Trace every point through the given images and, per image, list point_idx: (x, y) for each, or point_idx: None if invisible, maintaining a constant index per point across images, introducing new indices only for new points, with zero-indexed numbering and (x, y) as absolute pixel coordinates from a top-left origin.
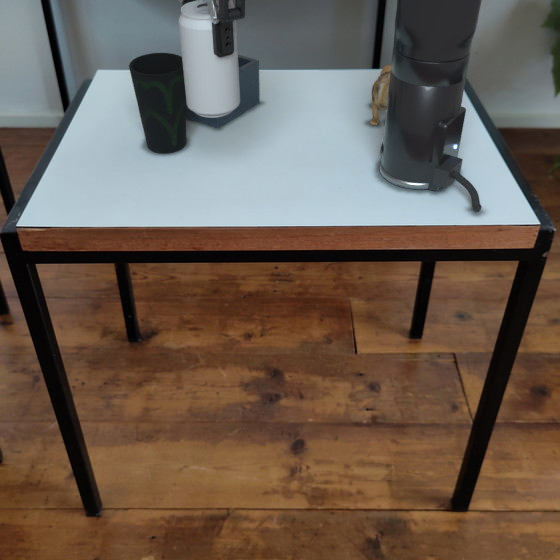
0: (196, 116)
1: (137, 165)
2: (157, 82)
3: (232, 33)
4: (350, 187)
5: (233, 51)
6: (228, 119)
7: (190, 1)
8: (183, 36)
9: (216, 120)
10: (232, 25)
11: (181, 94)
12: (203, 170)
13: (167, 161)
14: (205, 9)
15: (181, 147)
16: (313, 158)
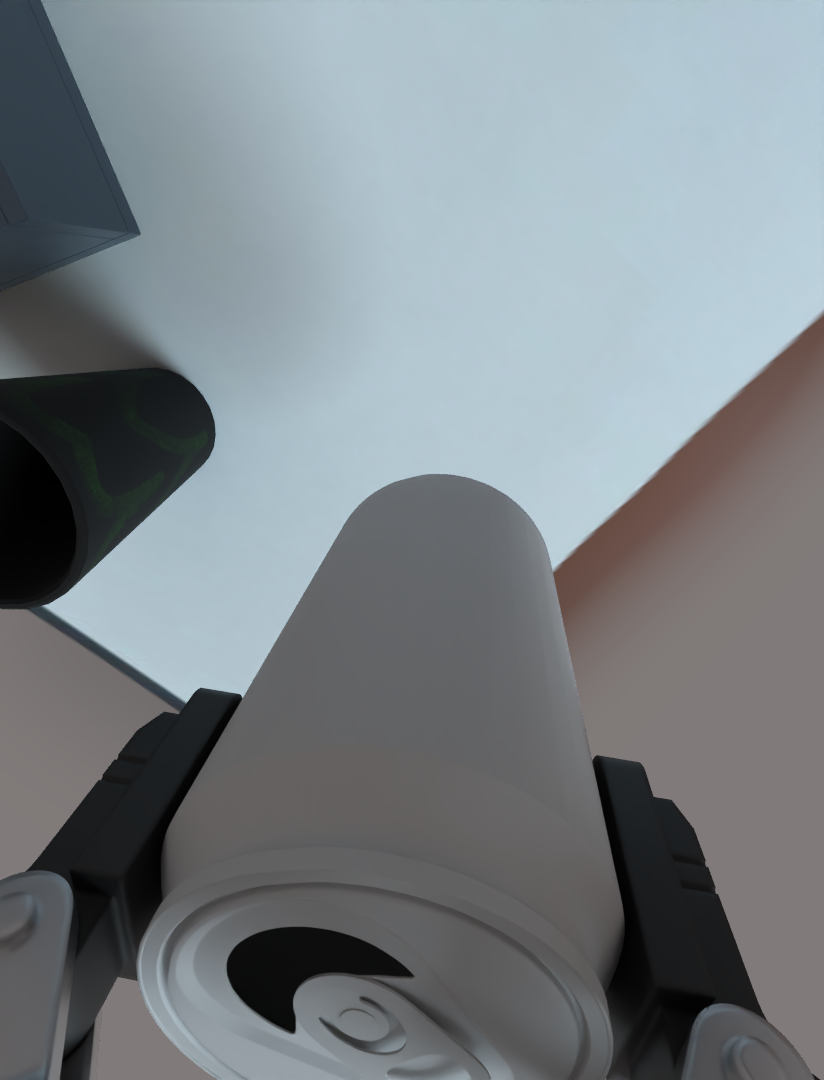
0: (55, 264)
1: (229, 537)
2: (96, 556)
3: (726, 932)
4: (734, 95)
5: (643, 770)
6: (108, 168)
7: (107, 973)
8: (393, 963)
9: (121, 234)
10: (754, 1003)
11: (123, 443)
12: (342, 426)
13: (249, 472)
14: (405, 1060)
15: (207, 409)
16: (497, 67)
